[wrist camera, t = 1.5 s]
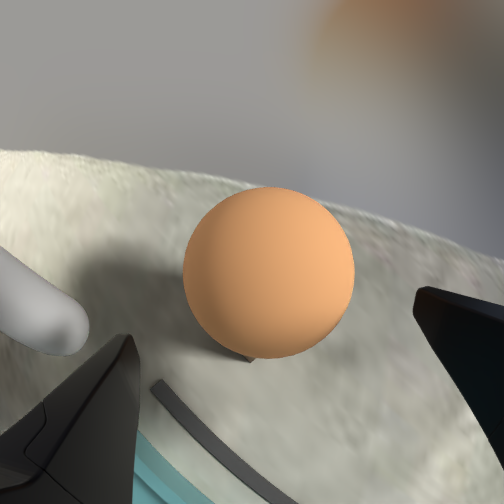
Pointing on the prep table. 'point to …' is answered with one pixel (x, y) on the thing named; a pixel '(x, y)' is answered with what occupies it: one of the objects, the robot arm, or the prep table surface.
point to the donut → (39, 311)
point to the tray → (160, 479)
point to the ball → (268, 272)
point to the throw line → (218, 446)
